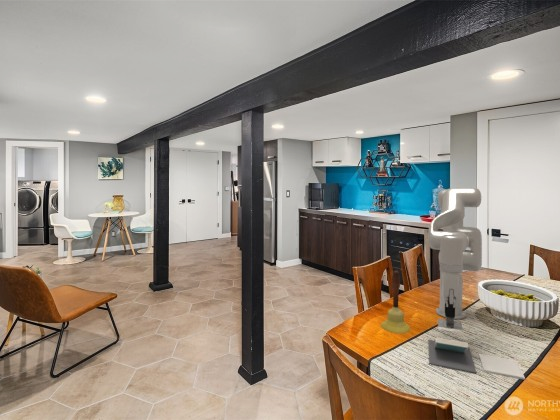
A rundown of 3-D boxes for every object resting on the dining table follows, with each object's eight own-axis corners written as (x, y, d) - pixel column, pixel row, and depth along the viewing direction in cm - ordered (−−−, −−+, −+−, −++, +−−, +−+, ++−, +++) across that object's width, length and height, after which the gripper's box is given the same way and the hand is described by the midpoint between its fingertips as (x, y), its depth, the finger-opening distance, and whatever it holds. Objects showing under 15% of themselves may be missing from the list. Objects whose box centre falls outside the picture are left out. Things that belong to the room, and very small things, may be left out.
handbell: (381, 331, 133) (381, 274, 131) (380, 319, 145) (380, 266, 143) (412, 335, 130) (413, 276, 128) (408, 322, 142) (409, 268, 140)
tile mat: (428, 340, 125) (428, 339, 125) (469, 348, 119) (469, 346, 119) (429, 364, 108) (429, 362, 108) (476, 373, 102) (476, 372, 102)
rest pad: (478, 355, 114) (478, 353, 114) (515, 361, 109) (515, 360, 109) (484, 371, 104) (484, 369, 104) (525, 379, 99) (525, 377, 99)
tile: (434, 343, 119) (435, 337, 112) (464, 348, 115) (468, 342, 107) (434, 347, 118) (435, 342, 111) (464, 353, 114) (468, 347, 107)
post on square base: (437, 320, 124) (437, 296, 123) (460, 323, 121) (461, 298, 120) (438, 328, 117) (438, 303, 116) (463, 332, 113) (463, 306, 113)
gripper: (438, 262, 126) (437, 306, 127) (440, 271, 111) (439, 322, 113) (460, 263, 123) (458, 309, 124) (465, 274, 108) (463, 325, 109)
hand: (449, 315), depth 118 cm, fingers closed on post on square base, 2 cm apart
